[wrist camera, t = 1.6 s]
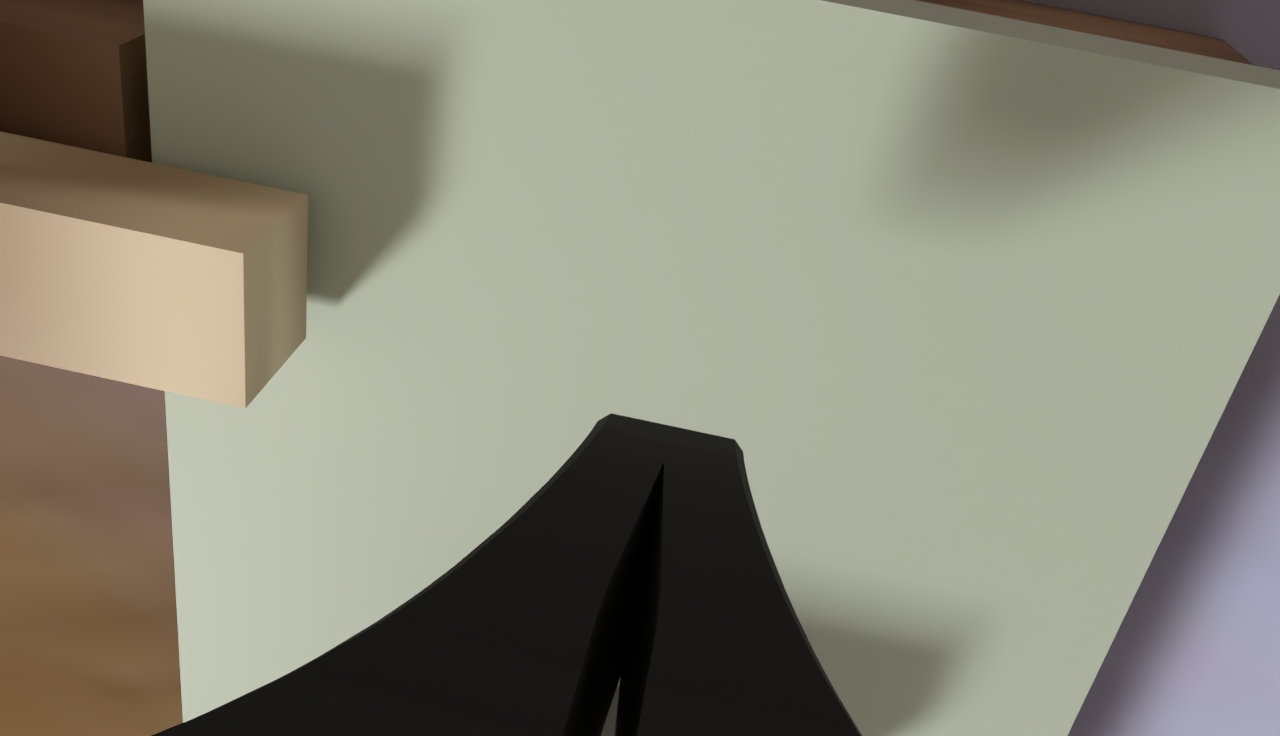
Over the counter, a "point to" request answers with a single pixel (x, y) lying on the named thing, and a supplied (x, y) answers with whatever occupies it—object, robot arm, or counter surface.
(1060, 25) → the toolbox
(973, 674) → the lid
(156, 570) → the counter surface
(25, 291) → the key
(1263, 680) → the counter surface
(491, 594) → the robot arm
